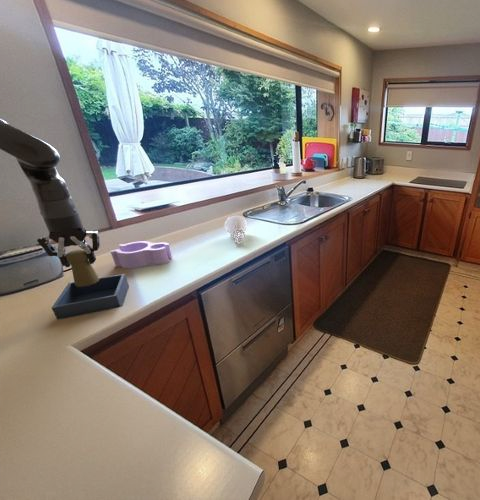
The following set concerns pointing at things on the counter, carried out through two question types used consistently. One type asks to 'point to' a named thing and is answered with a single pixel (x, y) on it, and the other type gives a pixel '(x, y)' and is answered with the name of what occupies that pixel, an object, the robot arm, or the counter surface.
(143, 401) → the counter surface
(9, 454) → the counter surface
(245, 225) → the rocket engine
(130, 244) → the purple compartment tray
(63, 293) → the tub
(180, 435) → the counter surface
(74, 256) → the cork
